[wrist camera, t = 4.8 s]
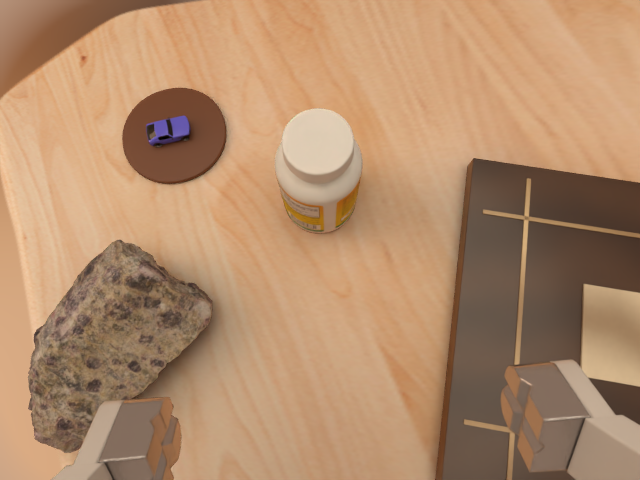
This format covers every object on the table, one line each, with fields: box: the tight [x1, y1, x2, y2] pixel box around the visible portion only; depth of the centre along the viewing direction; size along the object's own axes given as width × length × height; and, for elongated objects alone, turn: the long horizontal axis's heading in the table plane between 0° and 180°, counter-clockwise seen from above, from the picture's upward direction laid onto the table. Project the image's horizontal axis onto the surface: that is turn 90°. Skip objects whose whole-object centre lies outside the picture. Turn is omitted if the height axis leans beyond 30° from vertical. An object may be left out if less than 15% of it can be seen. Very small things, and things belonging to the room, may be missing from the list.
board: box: [436, 158, 640, 480], centre depth 30 cm, size 22×22×2 cm
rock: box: [28, 240, 212, 453], centre depth 29 cm, size 13×6×10 cm
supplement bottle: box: [275, 108, 362, 233], centre depth 29 cm, size 5×5×10 cm
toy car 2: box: [122, 88, 226, 184], centre depth 35 cm, size 8×8×2 cm
